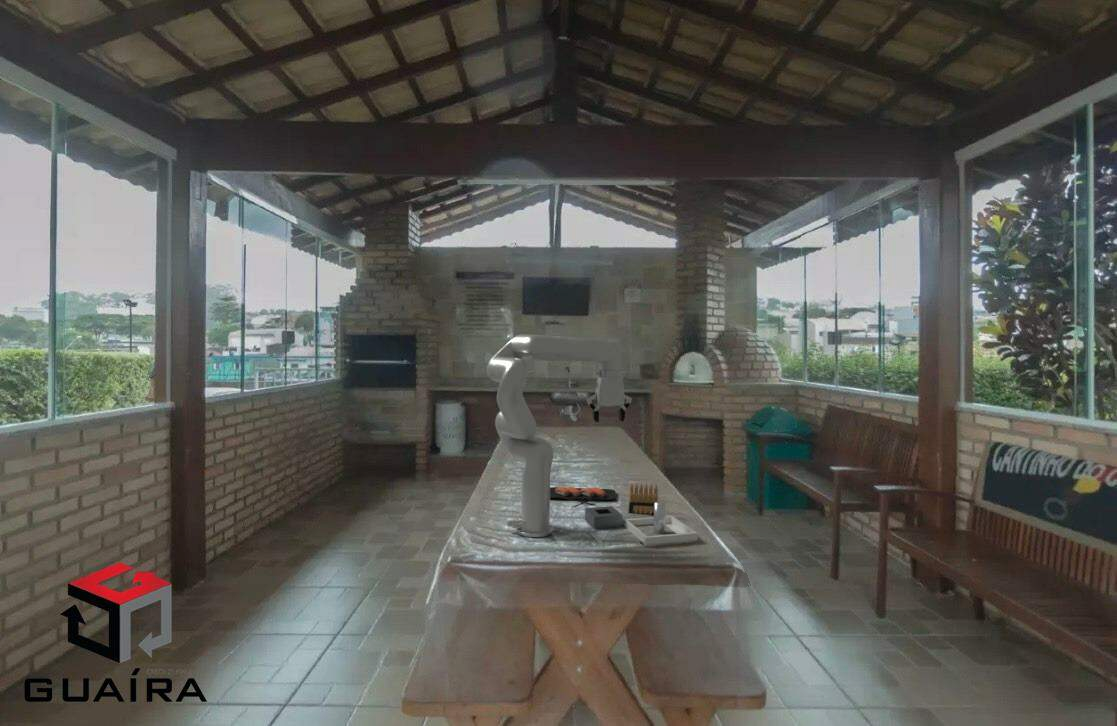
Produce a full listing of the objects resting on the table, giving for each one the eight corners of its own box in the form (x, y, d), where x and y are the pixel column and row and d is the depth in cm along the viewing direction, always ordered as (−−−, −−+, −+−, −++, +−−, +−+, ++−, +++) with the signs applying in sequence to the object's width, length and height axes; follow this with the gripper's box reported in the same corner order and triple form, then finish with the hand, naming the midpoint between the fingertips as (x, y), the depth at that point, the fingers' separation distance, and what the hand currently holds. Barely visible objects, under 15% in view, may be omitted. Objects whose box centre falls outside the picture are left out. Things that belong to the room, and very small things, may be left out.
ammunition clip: (628, 515, 212) (628, 483, 212) (628, 514, 214) (628, 482, 213) (658, 517, 211) (658, 484, 210) (657, 515, 213) (658, 483, 212)
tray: (645, 547, 181) (645, 537, 181) (623, 528, 199) (623, 519, 199) (697, 542, 186) (697, 533, 186) (671, 524, 204) (671, 515, 203)
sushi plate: (615, 493, 243) (615, 484, 243) (616, 516, 213) (617, 506, 213) (546, 491, 245) (546, 482, 245) (538, 513, 215) (538, 503, 215)
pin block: (594, 531, 195) (594, 517, 195) (584, 522, 204) (585, 508, 204) (622, 529, 198) (622, 514, 197) (611, 520, 207) (611, 506, 207)
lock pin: (656, 534, 190) (656, 504, 190) (651, 531, 194) (652, 501, 193) (666, 534, 191) (667, 504, 191) (661, 530, 195) (662, 500, 194)
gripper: (590, 375, 205) (589, 423, 206) (636, 375, 210) (635, 422, 211) (583, 373, 213) (583, 420, 214) (628, 373, 217) (627, 419, 218)
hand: (609, 421), depth 212 cm, fingers open, 9 cm apart
